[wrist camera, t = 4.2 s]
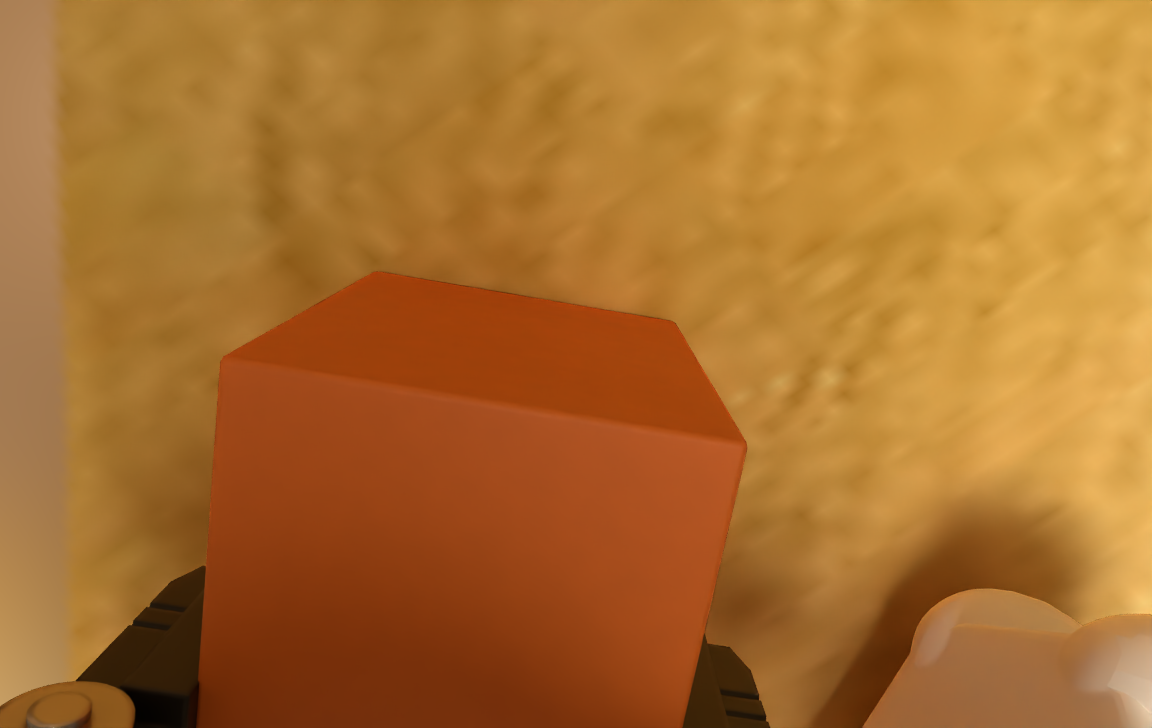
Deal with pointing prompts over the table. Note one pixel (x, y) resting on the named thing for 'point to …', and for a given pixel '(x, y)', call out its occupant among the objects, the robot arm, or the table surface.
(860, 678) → the table surface
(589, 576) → the block
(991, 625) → the white bone
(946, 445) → the table surface
